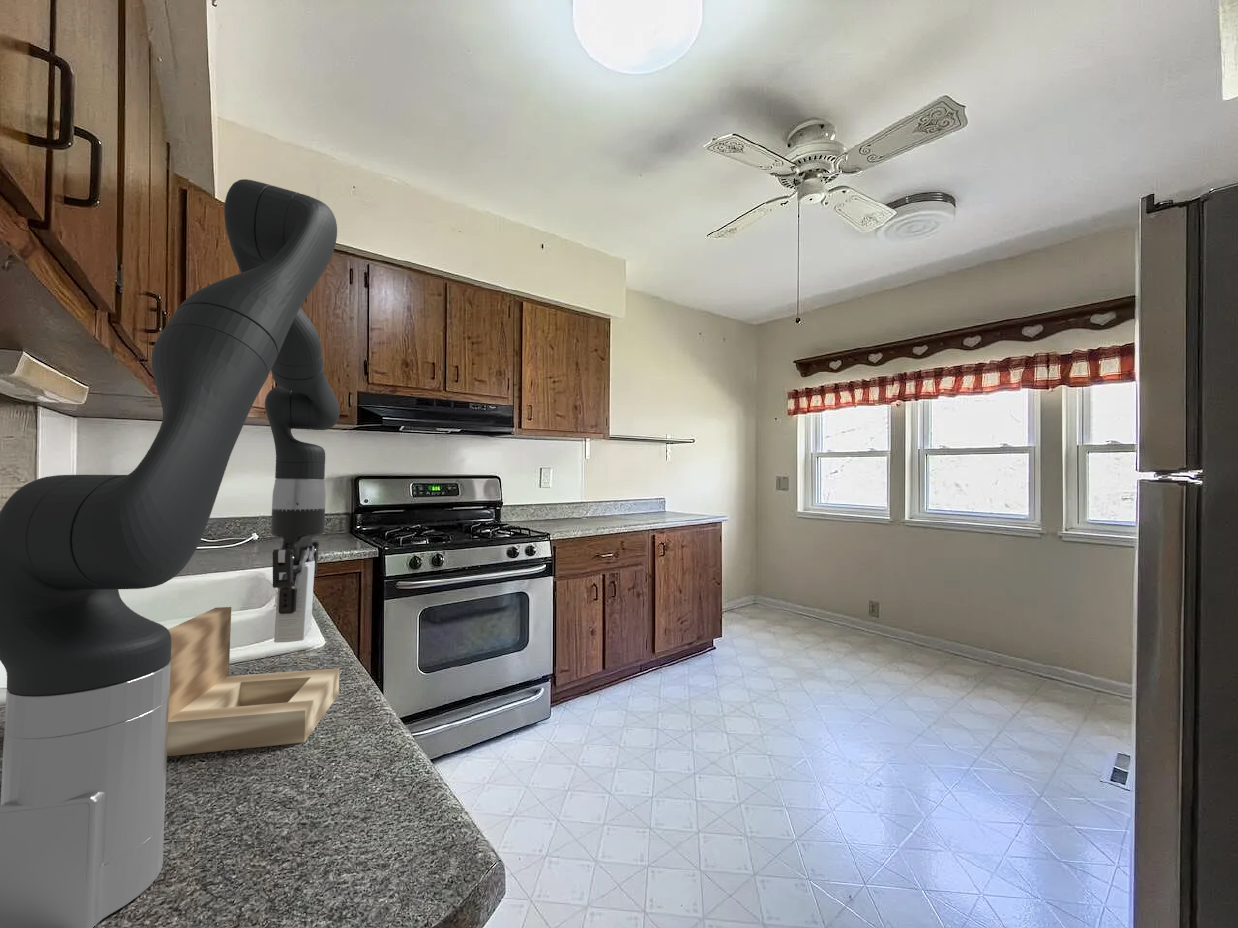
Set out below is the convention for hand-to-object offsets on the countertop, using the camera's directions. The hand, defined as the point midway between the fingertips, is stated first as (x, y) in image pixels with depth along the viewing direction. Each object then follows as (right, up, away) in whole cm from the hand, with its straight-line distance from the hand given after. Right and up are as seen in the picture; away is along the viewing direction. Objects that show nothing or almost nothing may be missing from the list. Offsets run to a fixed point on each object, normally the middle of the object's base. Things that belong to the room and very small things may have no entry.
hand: (295, 608), depth 85 cm
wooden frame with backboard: (+5, -11, -14) cm, 19 cm away
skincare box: (0, -5, 0) cm, 5 cm away
